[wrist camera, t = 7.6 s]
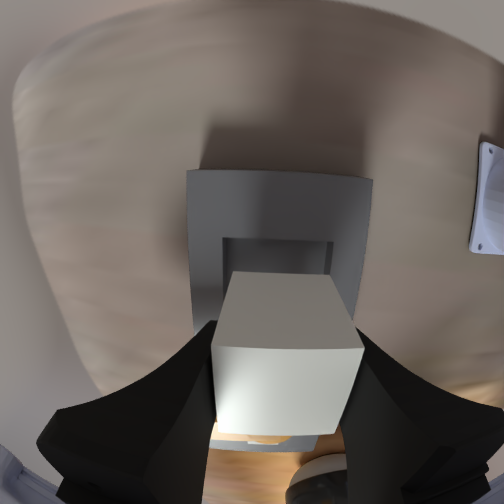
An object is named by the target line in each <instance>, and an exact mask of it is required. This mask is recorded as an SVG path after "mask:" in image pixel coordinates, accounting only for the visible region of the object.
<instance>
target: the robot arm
mask: <svg viewBox="0 0 504 504" xmlns="http://www.w3.org/2000/svg"><path fill="white" fill-rule="evenodd" d="M489 149H490V152H489ZM478 246H479V247H478ZM469 249H470V251H472V252H473V253H484V254H500V255H504V149H502V148H500V147H498V146H495V145H493V144H490V143H488V142H481V144H480V152H479V175H478V187H477V197H476V206H475V213H474V220H473V226H472V232H471V238H470V243H469ZM217 323H218V320H210V321H209V322H207V323H206V324H205V326H204V327H203V328H202V329H201V330H200V331H199V332H198V333H197V334H196V335H195V336H194V337H193V338H192V339H191V340H190V341H189V342H188V343H187V344H186V345H185V346H184V347H183V348H181V349H180V350H179V351H178V352H177V353H176V354H175V355H173V356H172V357H171V358H170V359H169V360H167V361H166V362H165V363H164V364H162V365H161V366H160V367H158V368H157V369H156V370H154V371H153V372H151V373H150V374H148V375H146V376H145V377H143V378H141V379H140V380H138V381H136V382H134V383H132V384H130V385H128V386H126V387H124V388H122V389H121V390H118V391H116V392H114V393H111V394H109V395H107V396H104V397H101V398H99V399H96V400H93V401H90V402H87V403H83V404H80V405H76V406H72V407H68V408H63V409H59V410H57V411H56V412H55V414H54V415H53V417H52V418H51V419H50V421H49V423H48V424H47V425H46V427H45V428H44V430H43V431H42V433H41V434H40V436H39V437H38V439H37V442H36V444H37V447H38V449H39V451H40V452H41V454H42V455H43V456H44V457H45V458H46V460H47V461H48V462H49V463H50V464H51V465H52V466H53V467H54V468H55V469H56V470H57V471H58V472H59V473H60V474H61V475H62V476H63V477H64V479H63V481H62V483H61V485H60V487H57V486H56V485H54V484H52V483H50V482H48V481H47V480H45V479H43V478H42V477H40V476H38V475H37V474H35V473H34V472H32V471H30V470H29V469H27V468H26V467H24V466H23V464H22V463H21V462H20V461H19V460H18V459H17V458H16V457H15V456H14V455H13V454H12V453H11V452H10V451H9V450H7V449H6V448H5V447H4V446H2V445H1V444H0V504H201V503H202V495H203V486H204V478H205V471H206V464H207V457H208V451H209V444H210V439H211V434H212V430H213V427H214V423H215V420H216V416H217V412H216V402H215V390H214V379H213V366H212V352H211V343H212V340H213V337H214V333H215V330H216V326H217ZM355 328H356V327H355ZM356 330H357V332H358V334H359V337H360V339H361V341H362V343H363V345H364V348H365V349H364V352H363V355H362V359H361V362H360V365H359V368H358V371H357V374H356V377H355V380H354V383H353V386H352V389H351V392H350V395H349V397H348V400H347V403H346V405H345V408H344V411H343V413H342V416H341V418H340V421H339V422H340V426H341V430H342V434H343V439H344V445H345V454H346V464H347V479H348V504H504V473H503V474H501V475H500V476H498V477H497V478H495V479H493V480H492V481H490V482H488V481H487V478H486V476H485V473H486V472H488V471H489V467H488V465H487V463H486V462H487V461H488V460H489V459H490V458H491V457H492V456H493V455H494V454H495V453H496V452H497V450H498V449H499V448H500V447H501V446H502V445H503V444H504V411H503V410H502V409H501V408H498V407H493V406H489V405H485V404H480V403H476V402H473V401H470V400H467V399H464V398H461V397H459V396H456V395H454V394H451V393H449V392H447V391H445V390H443V389H440V388H438V387H436V386H434V385H432V384H431V383H429V382H427V381H425V380H424V379H422V378H420V377H419V376H417V375H415V374H414V373H412V372H411V371H409V370H408V369H406V368H405V367H403V366H402V365H401V364H399V363H398V362H397V361H395V360H394V359H393V358H391V357H390V356H389V355H388V354H386V353H385V352H384V351H383V350H382V349H380V348H379V347H378V346H377V345H376V344H375V343H374V342H372V341H371V340H370V339H369V338H368V337H367V336H366V335H364V334H363V333H362V332H361V331H360V330H359V329H358V328H356Z"/></svg>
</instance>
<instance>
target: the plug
mask: <svg viewBox="0 0 504 504" xmlns="http://www.w3.org/2000/svg"><path fill="white" fill-rule="evenodd" d="M364 349H365V348H364V345H363V343H362V341H361V339H360V337H359V334H358V332H357V330H356V328H355V326H354V324H353V322H352V319H351V317H350V315H349V313H348V311H347V309H346V307H345V305H344V303H343V301H342V299H341V297H340V295H339V293H338V291H337V289H336V287H335V285H334V283H333V281H332V279H331V277H330V275H316V274H287V273H261V272H239V271H233V273H232V276H231V280H230V283H229V286H228V290H227V293H226V296H225V300H224V303H223V306H222V310H221V313H220V316H219V320H218V323H217V326H216V330H215V333H214V337H213V340H212V343H211V352H212V366H213V379H214V390H215V402H216V412H217V422H218V431H219V432H221V433H232V434H246V435H270V436H299V435H322V434H334V433H335V430H336V428H337V426H338V423H339V421H340V418H341V416H342V413H343V411H344V408H345V405H346V403H347V400H348V397H349V395H350V392H351V389H352V386H353V383H354V380H355V377H356V374H357V371H358V368H359V365H360V362H361V359H362V355H363V352H364Z"/></svg>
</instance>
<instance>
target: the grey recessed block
mask: <svg viewBox="0 0 504 504" xmlns="http://www.w3.org/2000/svg"><path fill="white" fill-rule="evenodd" d="M372 186H373V179H368V178H363V177H358V176H349V175H338V174H327V173H314V172H300V171H282V170H257V169H195V170H188V171H187V228H188V253H189V271H190V287H191V301H192V314H193V325H194V336H195V335H196V334H197V333H198V332H199V331H200V330H201V329H202V328H203V327H204V326H205V324H206V323H207V322H209V321H210V320H219V316H220V313H221V310H222V306H223V303H224V300H225V296H226V293H227V290H228V286H229V283H230V280H231V276H232V273H233V271H239V272H261V273H287V274H316V275H330V277H331V279H332V281H333V283H334V285H335V287H336V289H337V291H338V293H339V295H340V297H341V299H342V301H343V303H344V305H345V307H346V309H347V311H348V313H349V315H350V317H351V319H352V320H353V315H354V311H355V306H356V301H357V296H358V291H359V285H360V280H361V274H362V268H363V262H364V255H365V249H366V242H367V234H368V226H369V217H370V208H371V198H372ZM318 437H319V435H299V436H292V437H291V438H289V439H288V440H286V441H284V442H281V443H276V444H263V443H258V442H256V441H229V440H213V439H210V444H209V447H210V448H215V449H225V450H236V451H253V452H307V451H313V450H314V447H315V445H316V442H317V439H318Z"/></svg>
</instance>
